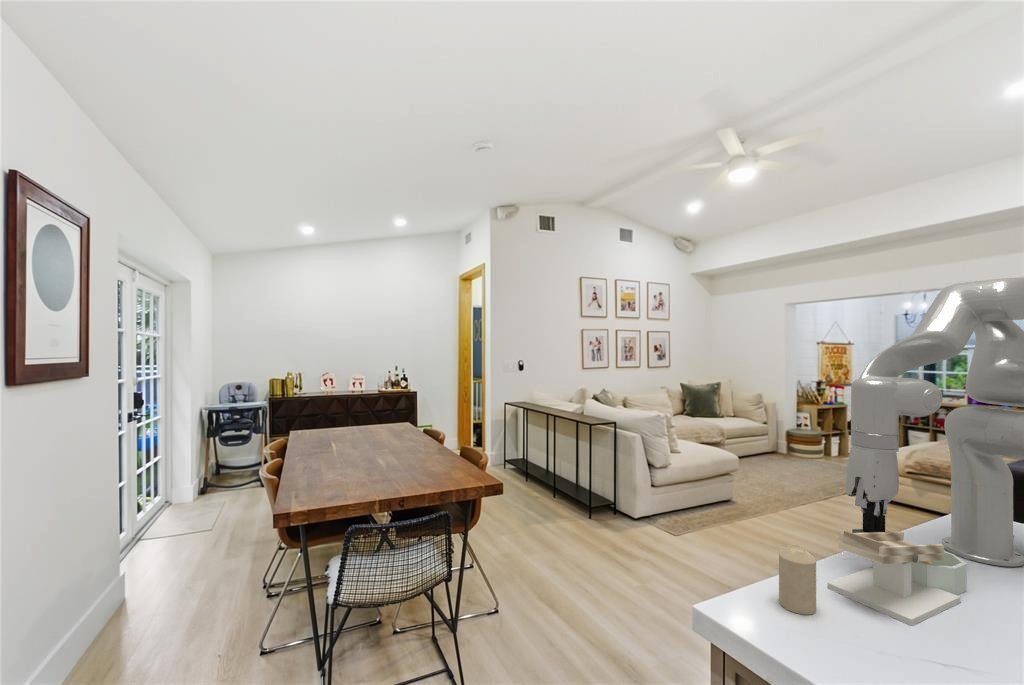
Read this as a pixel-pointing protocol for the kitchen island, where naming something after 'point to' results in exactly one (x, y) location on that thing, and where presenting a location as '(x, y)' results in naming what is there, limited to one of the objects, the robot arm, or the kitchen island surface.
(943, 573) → the pale green bowl
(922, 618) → the lever stand
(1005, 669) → the kitchen island surface
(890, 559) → the lever
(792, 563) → the candle
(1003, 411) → the robot arm
